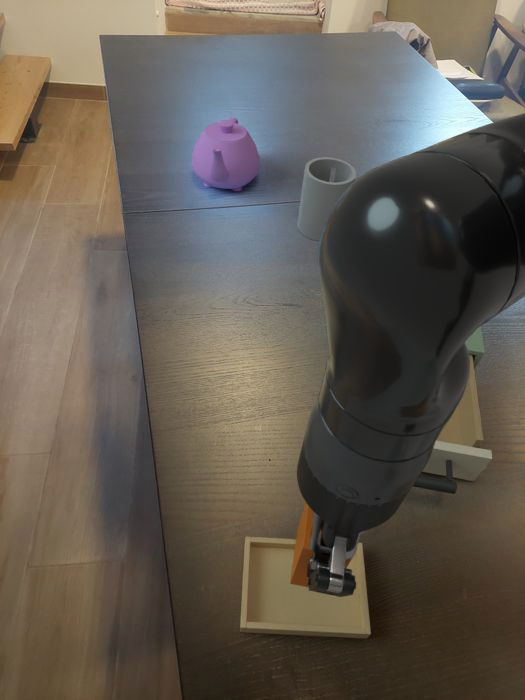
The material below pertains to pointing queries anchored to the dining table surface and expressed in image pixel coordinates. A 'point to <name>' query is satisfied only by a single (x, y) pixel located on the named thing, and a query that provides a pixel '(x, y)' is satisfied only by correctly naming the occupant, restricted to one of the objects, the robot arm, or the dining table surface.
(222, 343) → the dining table surface
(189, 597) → the dining table surface
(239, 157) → the teapot
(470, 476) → the drawer
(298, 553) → the block
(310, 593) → the tray
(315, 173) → the cup
